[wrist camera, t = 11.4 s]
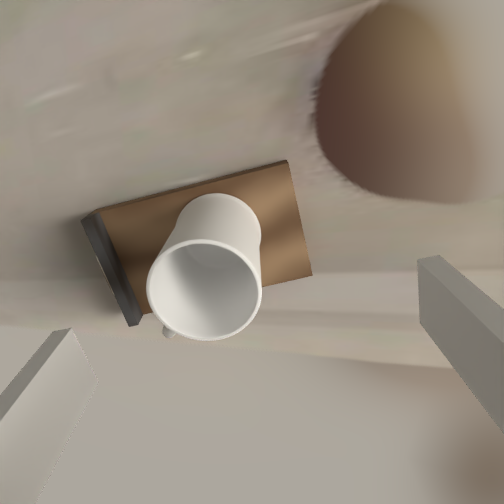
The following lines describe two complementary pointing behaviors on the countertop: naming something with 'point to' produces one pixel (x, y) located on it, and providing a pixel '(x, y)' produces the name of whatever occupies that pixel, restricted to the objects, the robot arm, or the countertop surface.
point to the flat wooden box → (164, 221)
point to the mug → (208, 270)
